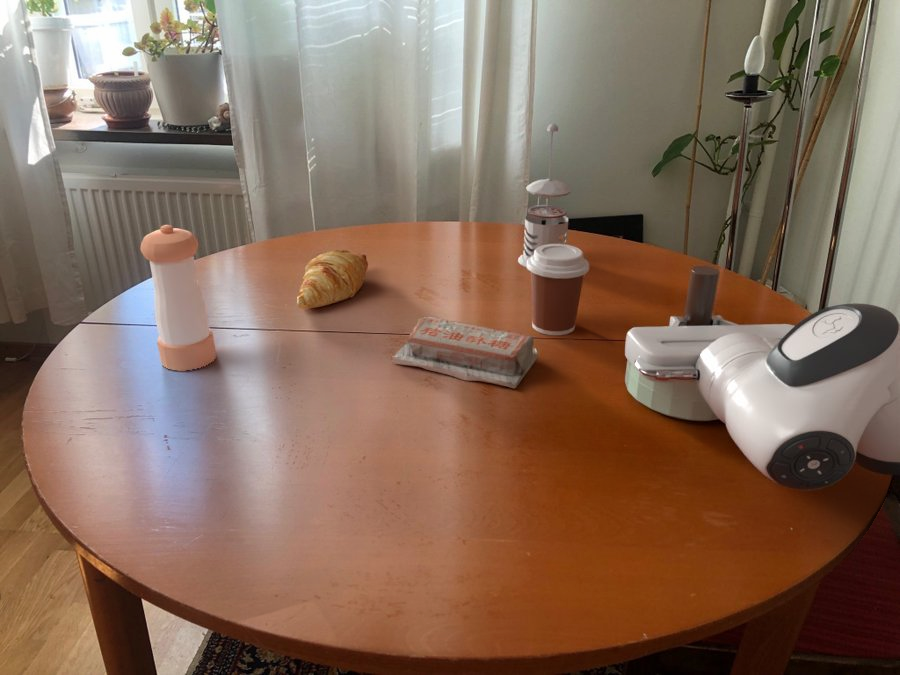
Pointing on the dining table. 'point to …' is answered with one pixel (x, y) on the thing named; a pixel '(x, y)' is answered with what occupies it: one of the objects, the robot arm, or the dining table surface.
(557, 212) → the french press
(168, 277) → the pepper shaker
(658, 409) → the bowl
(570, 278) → the coffee cup
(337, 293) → the croissant
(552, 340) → the dining table surface
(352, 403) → the dining table surface
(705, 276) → the brown tall cylinder
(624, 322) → the dining table surface
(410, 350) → the packaged product
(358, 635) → the dining table surface
